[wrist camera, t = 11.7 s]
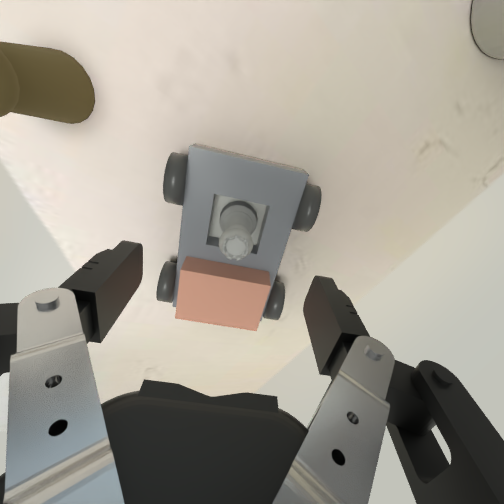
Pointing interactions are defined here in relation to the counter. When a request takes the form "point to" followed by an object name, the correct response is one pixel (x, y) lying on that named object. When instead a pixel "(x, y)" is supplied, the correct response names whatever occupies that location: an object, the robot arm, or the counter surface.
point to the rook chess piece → (237, 229)
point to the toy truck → (209, 231)
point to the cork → (43, 84)
